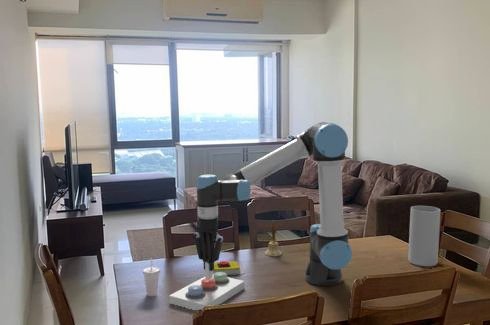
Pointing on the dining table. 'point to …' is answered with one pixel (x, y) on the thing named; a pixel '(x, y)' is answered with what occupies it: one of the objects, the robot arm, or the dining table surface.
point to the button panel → (207, 294)
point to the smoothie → (151, 279)
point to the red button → (208, 283)
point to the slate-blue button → (195, 290)
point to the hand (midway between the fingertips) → (209, 278)
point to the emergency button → (228, 267)
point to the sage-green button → (220, 276)
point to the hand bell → (273, 243)
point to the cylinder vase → (424, 235)
